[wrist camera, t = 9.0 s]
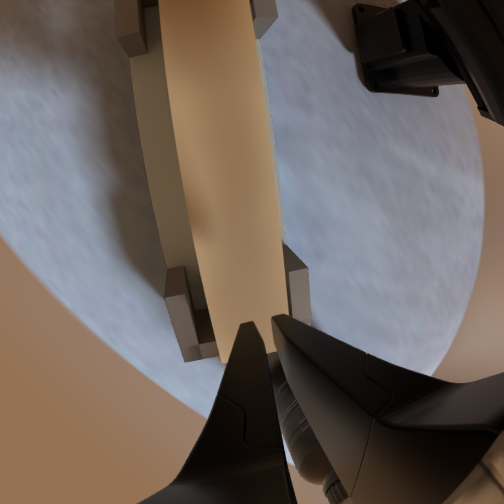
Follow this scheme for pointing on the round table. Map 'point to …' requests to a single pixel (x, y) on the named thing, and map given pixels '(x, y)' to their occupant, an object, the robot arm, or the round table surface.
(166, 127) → the slat rail
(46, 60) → the round table surface
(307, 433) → the supplement bottle
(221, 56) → the slat
